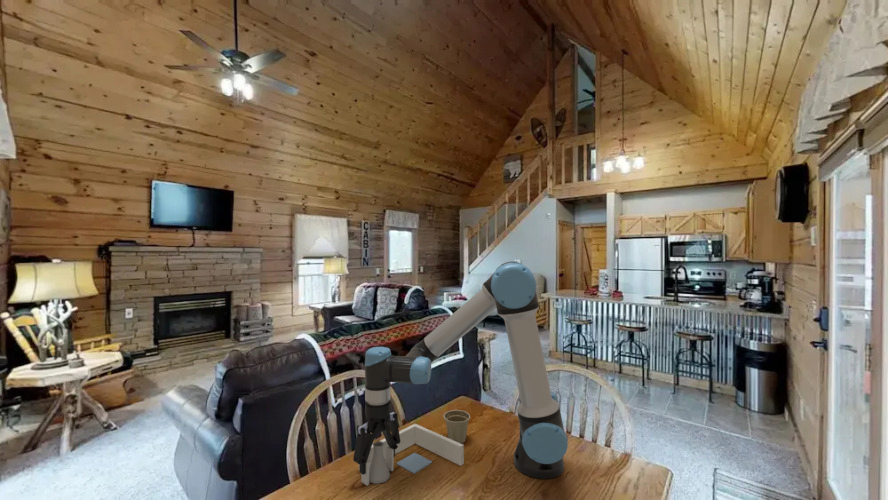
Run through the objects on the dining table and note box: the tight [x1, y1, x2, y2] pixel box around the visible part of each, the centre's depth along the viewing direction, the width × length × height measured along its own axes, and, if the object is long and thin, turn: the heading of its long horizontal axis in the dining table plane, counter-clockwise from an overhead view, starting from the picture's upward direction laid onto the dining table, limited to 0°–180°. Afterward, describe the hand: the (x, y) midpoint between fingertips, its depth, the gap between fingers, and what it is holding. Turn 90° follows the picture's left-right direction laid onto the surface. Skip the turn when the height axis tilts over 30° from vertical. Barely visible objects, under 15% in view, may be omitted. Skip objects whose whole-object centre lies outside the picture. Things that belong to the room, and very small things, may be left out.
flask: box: [369, 440, 391, 485], centre depth 112 cm, size 7×7×10 cm
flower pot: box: [443, 409, 471, 444], centre depth 134 cm, size 9×9×9 cm
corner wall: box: [358, 423, 465, 471], centre depth 117 cm, size 22×24×6 cm
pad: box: [396, 452, 433, 475], centre depth 119 cm, size 8×8×1 cm
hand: (377, 476), depth 113 cm, fingers open, 8 cm apart
